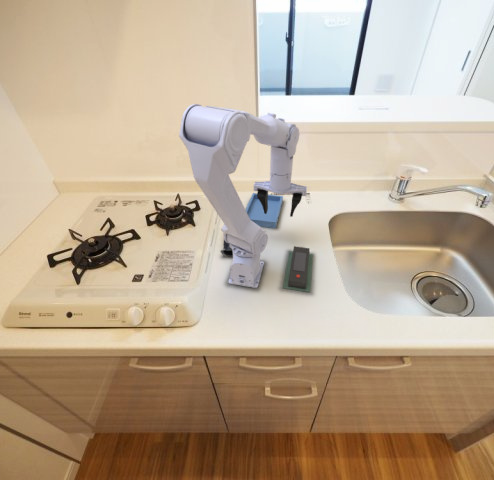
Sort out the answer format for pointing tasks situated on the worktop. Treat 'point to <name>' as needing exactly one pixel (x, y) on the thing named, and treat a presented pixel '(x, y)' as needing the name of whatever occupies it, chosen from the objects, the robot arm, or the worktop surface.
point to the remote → (299, 268)
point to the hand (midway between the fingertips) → (278, 213)
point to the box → (257, 211)
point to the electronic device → (227, 249)
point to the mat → (307, 274)
